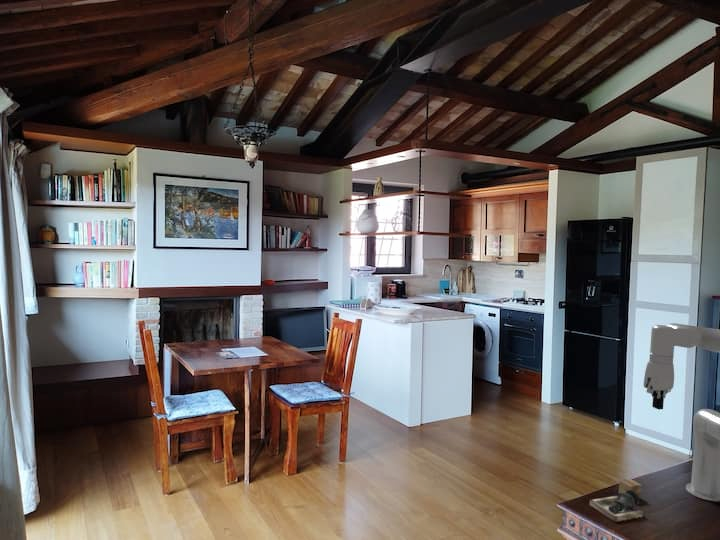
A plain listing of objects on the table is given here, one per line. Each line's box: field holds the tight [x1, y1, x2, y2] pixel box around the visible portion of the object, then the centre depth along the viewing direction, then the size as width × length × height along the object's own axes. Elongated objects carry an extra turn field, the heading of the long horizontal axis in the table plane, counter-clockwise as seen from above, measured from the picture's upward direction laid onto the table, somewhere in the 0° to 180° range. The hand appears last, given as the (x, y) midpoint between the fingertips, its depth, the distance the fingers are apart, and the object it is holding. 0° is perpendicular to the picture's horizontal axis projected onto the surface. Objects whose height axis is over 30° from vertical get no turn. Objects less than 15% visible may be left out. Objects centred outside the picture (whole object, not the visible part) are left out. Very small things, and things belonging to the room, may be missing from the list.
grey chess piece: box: [609, 490, 640, 514], centre depth 180 cm, size 6×6×12 cm
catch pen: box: [589, 495, 644, 523], centre depth 181 cm, size 12×11×2 cm
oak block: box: [618, 478, 642, 499], centre depth 192 cm, size 5×5×5 cm
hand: (657, 408), depth 193 cm, fingers closed
